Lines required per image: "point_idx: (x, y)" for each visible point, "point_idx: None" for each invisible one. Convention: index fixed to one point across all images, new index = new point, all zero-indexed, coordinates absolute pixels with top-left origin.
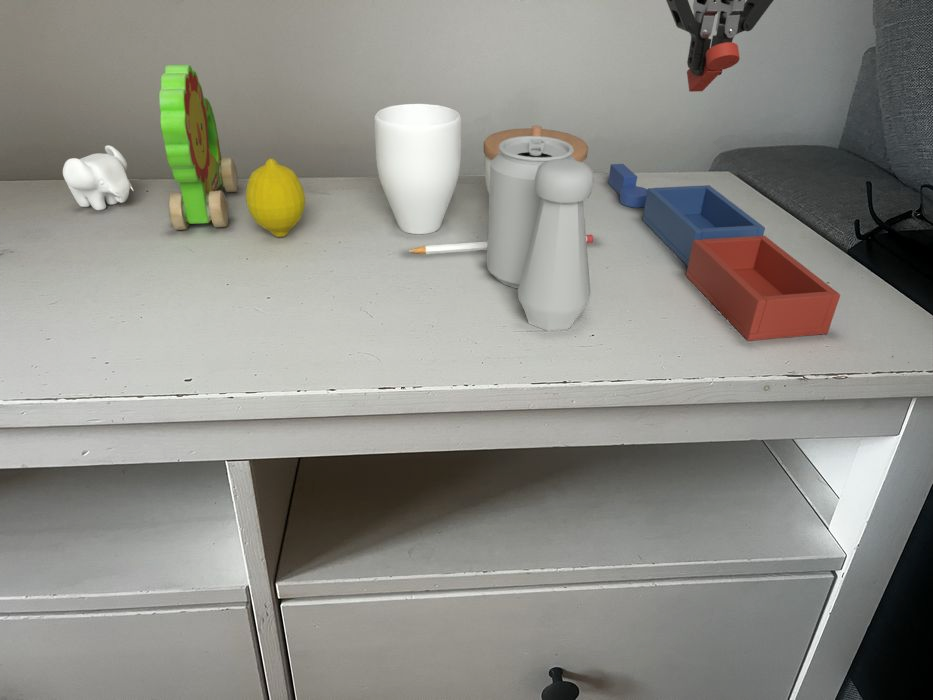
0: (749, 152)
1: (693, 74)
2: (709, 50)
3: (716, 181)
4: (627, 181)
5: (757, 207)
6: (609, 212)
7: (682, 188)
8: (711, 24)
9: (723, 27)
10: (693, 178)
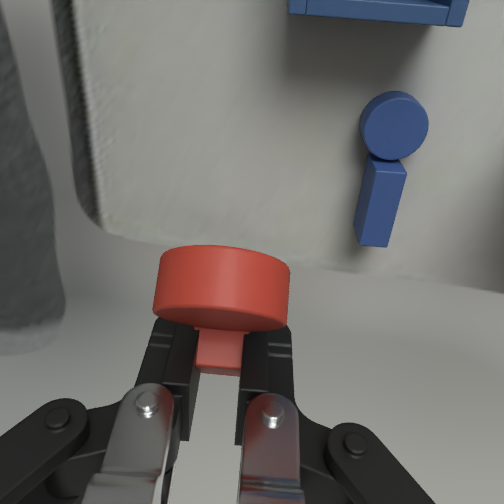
0: (21, 312)
1: None
2: (286, 315)
3: (152, 195)
4: (396, 167)
5: (129, 35)
6: (475, 81)
7: (373, 4)
8: (252, 441)
9: (170, 440)
10: (192, 218)
